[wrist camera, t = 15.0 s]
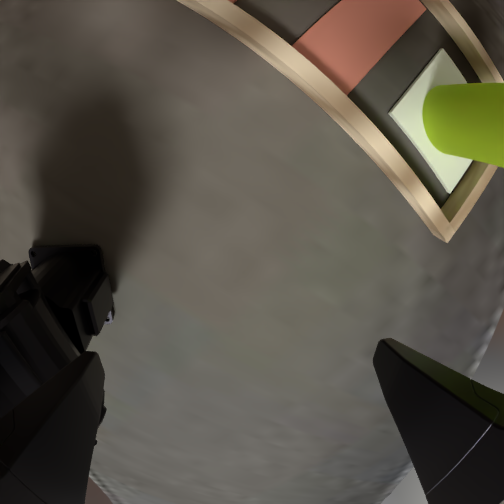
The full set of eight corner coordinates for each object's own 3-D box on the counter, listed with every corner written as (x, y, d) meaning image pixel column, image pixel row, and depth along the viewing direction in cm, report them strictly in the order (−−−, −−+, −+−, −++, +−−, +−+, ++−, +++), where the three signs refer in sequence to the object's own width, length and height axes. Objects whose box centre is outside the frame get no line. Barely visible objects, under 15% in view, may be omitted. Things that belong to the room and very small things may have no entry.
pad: (387, 113, 19) (390, 113, 18) (440, 48, 17) (443, 48, 17) (447, 192, 22) (450, 193, 21) (489, 126, 20) (492, 127, 20)
